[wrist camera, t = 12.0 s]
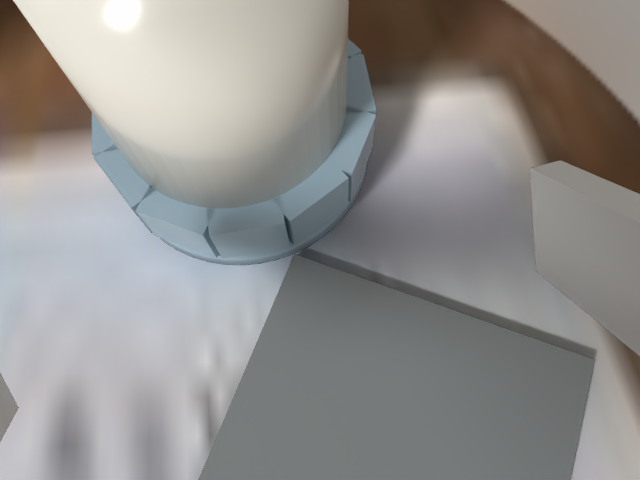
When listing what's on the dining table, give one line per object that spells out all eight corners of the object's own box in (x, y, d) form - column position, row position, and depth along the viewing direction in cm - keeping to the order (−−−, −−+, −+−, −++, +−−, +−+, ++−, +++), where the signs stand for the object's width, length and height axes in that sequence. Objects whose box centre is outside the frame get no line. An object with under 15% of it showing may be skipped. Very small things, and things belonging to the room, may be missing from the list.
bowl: (80, 216, 24) (38, 176, 21) (190, 28, 28) (170, -31, 24) (315, 301, 22) (311, 273, 19) (400, 89, 26) (408, 34, 23)
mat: (163, 569, 19) (159, 571, 18) (295, 258, 23) (294, 254, 22) (512, 733, 17) (517, 740, 16) (589, 362, 21) (594, 359, 21)
